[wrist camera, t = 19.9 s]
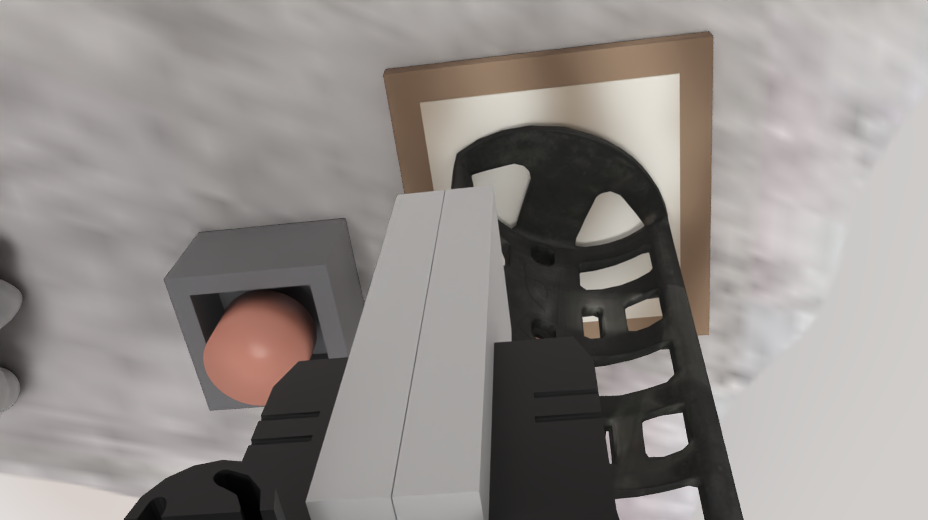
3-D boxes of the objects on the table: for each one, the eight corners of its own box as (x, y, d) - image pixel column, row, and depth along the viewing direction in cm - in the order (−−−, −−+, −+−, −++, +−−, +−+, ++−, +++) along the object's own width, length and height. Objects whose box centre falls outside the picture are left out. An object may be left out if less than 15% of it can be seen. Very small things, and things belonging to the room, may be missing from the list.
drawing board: (435, 346, 46) (433, 357, 45) (385, 69, 38) (382, 75, 38) (705, 325, 44) (709, 335, 44) (708, 31, 37) (713, 36, 36)
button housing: (237, 355, 47) (209, 410, 43) (198, 232, 43) (163, 279, 39) (373, 344, 46) (358, 399, 42) (345, 218, 42) (326, 264, 38)
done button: (236, 372, 43) (218, 408, 40) (211, 294, 40) (190, 327, 38) (325, 365, 42) (313, 401, 39) (305, 286, 40) (290, 319, 37)
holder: (694, 145, 38) (811, 477, 22) (651, 274, 42) (721, 633, 26) (462, 107, 38) (402, 412, 22) (442, 240, 42) (379, 580, 26)
